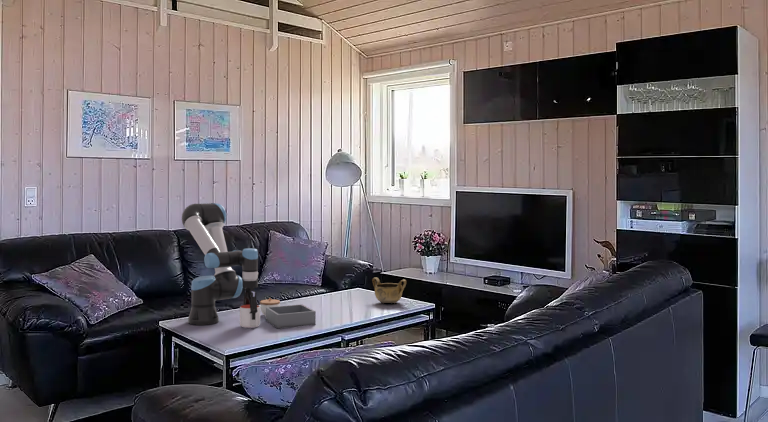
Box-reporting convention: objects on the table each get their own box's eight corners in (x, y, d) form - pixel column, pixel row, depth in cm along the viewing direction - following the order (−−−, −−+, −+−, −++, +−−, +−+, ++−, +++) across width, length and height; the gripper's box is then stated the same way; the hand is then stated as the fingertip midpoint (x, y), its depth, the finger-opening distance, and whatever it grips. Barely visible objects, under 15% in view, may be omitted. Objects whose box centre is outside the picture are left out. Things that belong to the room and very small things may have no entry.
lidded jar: (263, 318, 348) (263, 300, 348) (257, 314, 358) (257, 297, 357) (282, 316, 353) (282, 299, 353) (276, 312, 363) (276, 295, 362)
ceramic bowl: (411, 302, 394) (411, 278, 393) (398, 307, 379) (398, 282, 378) (379, 299, 405) (379, 275, 404) (365, 303, 390) (365, 278, 389)
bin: (277, 328, 324) (277, 314, 324) (265, 320, 342) (265, 307, 342) (315, 324, 334) (315, 311, 333) (302, 317, 351) (302, 304, 351)
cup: (264, 325, 331) (264, 305, 330) (252, 329, 322) (252, 309, 321) (247, 323, 335) (248, 303, 335) (235, 327, 326) (235, 307, 326)
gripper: (264, 282, 319) (263, 327, 320) (251, 275, 339) (251, 318, 340) (248, 283, 315) (248, 329, 317) (236, 276, 335) (236, 319, 337)
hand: (250, 323), depth 328 cm, fingers closed on cup, 10 cm apart
